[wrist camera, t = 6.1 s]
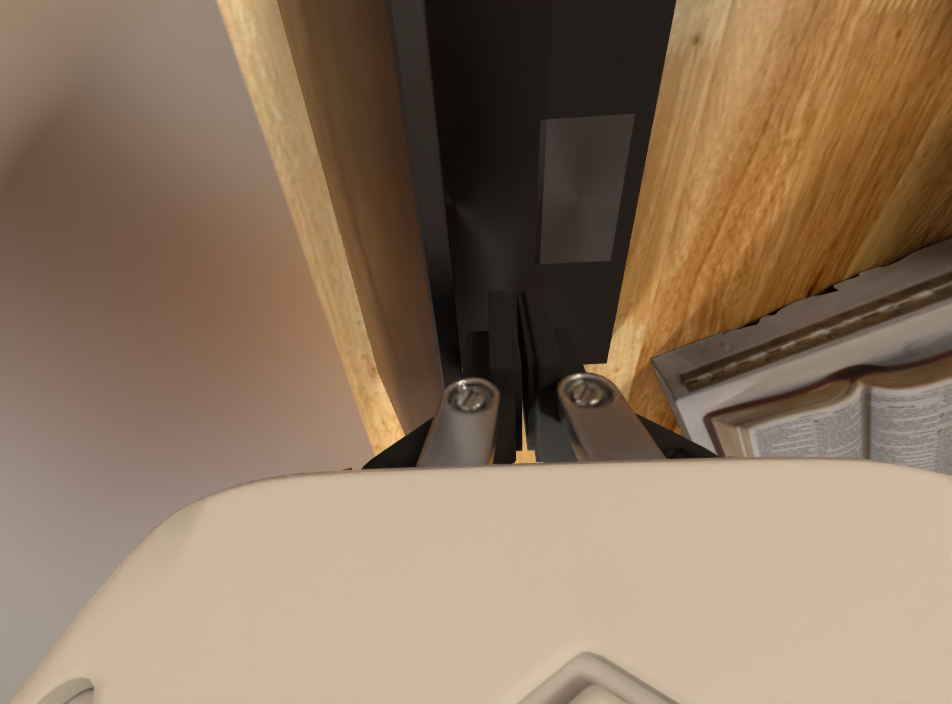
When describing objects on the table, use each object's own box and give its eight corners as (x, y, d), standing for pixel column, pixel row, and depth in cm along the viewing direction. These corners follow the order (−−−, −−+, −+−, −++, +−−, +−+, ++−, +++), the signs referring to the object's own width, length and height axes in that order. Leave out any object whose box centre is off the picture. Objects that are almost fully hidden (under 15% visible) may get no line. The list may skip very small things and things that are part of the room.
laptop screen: (281, -1635, 2) (119, -1861, 2) (485, 582, 20) (472, 589, 19) (264, -109, 18) (246, -110, 18) (386, 370, 35) (378, 373, 35)
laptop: (688, -132, 18) (706, -153, 17) (601, 352, 36) (607, 364, 34) (281, -93, 19) (263, -109, 18) (390, 359, 37) (386, 371, 35)
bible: (926, 419, 40) (1035, 502, 32) (665, 469, 46) (702, 549, 38) (1019, 213, 27) (1238, 265, 19) (643, 322, 34) (691, 395, 26)
